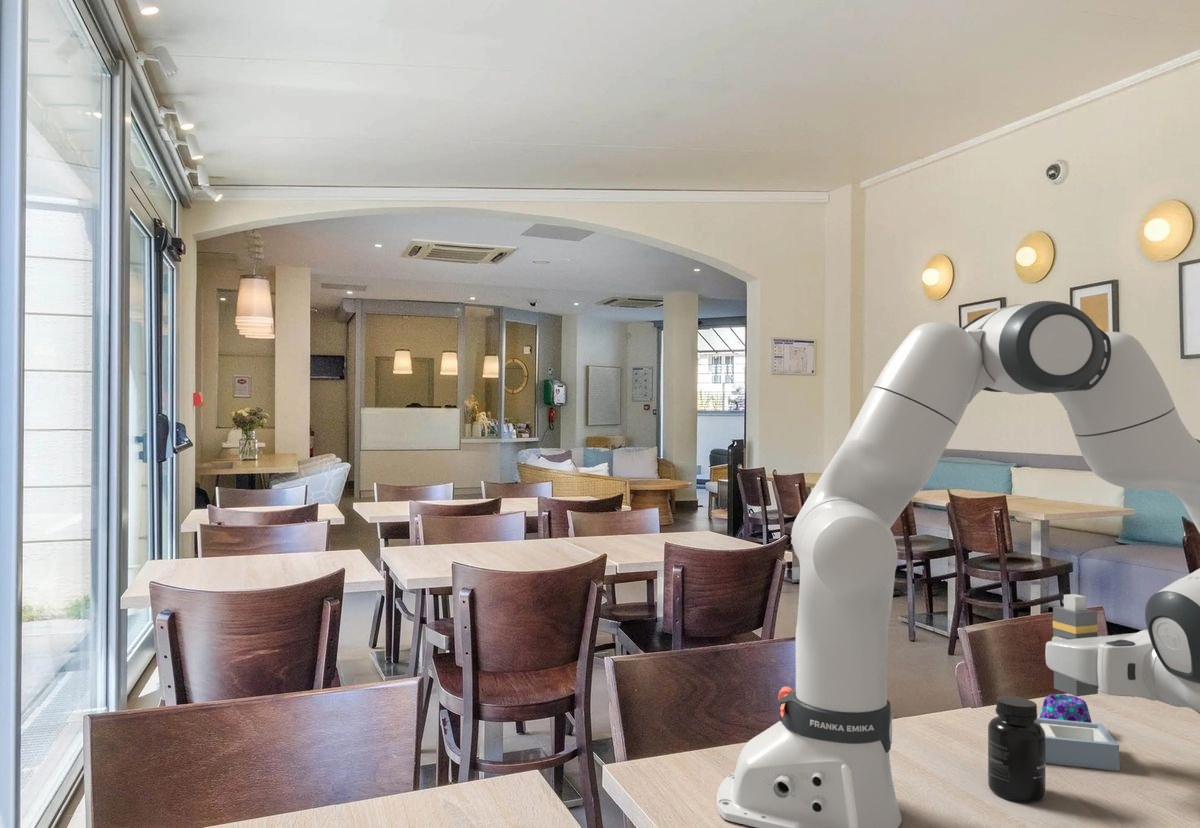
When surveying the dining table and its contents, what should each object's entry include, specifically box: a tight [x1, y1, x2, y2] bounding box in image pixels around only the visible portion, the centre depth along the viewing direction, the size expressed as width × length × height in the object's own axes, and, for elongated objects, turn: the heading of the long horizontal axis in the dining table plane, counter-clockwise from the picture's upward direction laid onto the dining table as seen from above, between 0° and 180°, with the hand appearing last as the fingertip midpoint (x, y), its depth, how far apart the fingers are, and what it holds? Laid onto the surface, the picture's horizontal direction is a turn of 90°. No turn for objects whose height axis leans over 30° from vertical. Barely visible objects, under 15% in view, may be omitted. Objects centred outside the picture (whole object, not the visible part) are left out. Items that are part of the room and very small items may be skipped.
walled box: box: [1035, 718, 1120, 772], centre depth 124 cm, size 14×9×4 cm, turn 73°
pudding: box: [1037, 693, 1110, 733], centre depth 134 cm, size 12×12×5 cm
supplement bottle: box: [987, 695, 1047, 803], centre depth 111 cm, size 7×7×12 cm
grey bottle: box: [1052, 593, 1099, 697], centre depth 123 cm, size 4×4×14 cm
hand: (1069, 640), depth 124 cm, fingers closed on grey bottle, 4 cm apart
